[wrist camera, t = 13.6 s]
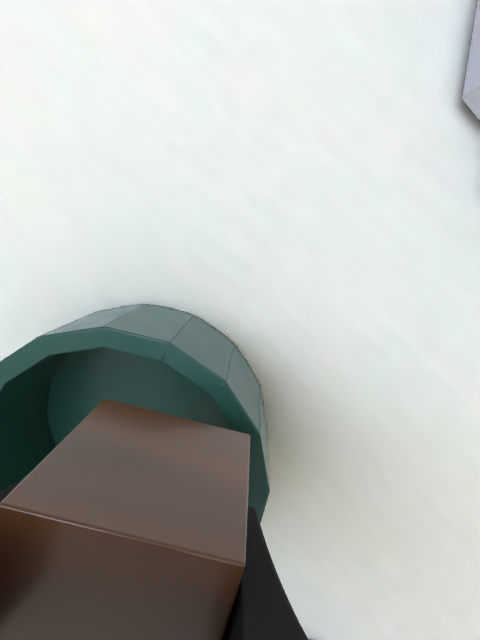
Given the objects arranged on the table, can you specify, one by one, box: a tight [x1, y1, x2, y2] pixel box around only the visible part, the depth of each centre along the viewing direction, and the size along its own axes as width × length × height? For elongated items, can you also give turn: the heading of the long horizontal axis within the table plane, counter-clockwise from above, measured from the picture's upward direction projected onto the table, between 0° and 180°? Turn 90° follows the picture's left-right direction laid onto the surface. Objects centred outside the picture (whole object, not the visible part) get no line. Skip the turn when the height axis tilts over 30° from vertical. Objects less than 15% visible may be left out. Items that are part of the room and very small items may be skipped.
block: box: [0, 399, 250, 640], centre depth 10 cm, size 5×5×5 cm
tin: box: [0, 304, 270, 523], centre depth 17 cm, size 12×12×5 cm
